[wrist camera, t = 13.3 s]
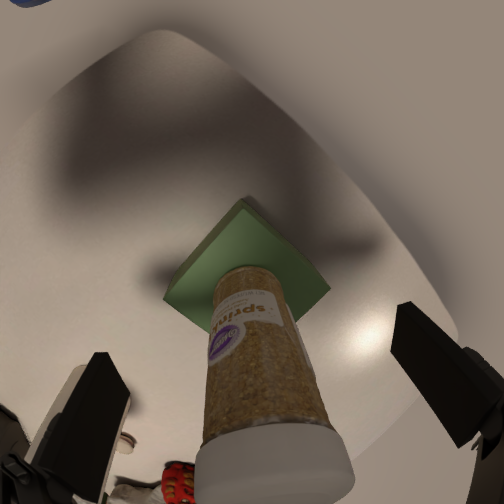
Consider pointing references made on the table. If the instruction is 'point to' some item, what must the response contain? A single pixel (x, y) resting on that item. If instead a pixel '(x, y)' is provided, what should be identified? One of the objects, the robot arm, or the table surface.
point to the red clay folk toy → (178, 484)
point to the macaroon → (125, 445)
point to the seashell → (135, 495)
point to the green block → (238, 255)
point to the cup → (58, 407)
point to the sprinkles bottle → (264, 405)
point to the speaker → (12, 437)
